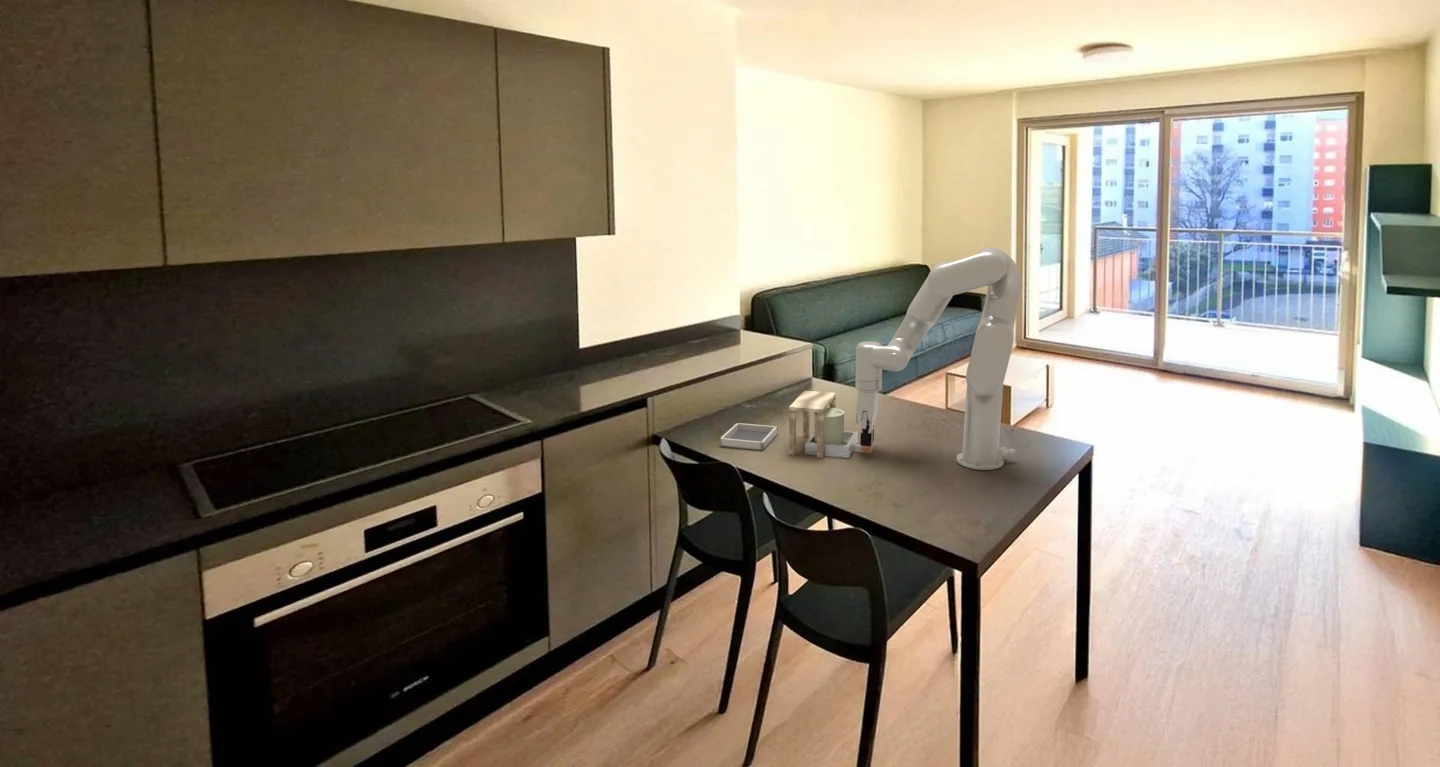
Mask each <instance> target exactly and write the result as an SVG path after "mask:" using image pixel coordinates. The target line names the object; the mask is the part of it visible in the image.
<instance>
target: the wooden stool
mask: <svg viewBox="0 0 1440 767" xmlns="http://www.w3.org/2000/svg"><path fill="white" fill-rule="evenodd" d="M836 404H837V393H836V392H831V391H830V392H828V391H815V390H803V392H802V393H801V394H800V395H799V396H797V398H796V399H795V400H794V401H793V402H792V403H791V404H790V405H789V407H788V419H789V420H788V421H789V422H788V424H789V425H788V427H789V428H788V429H789V430H788V432H789V433H788V434H789V435H788V436H789V440H788V442H789V443H788V444H789V445H788V446H789V456H796V455H797V411H798V412H802V425H803V426H802V433H803V434H802V435H803V436H802V438H804V439H805V438H807V439H809V438H810V413H814V412H817V455H816V458H817V459H824V457H825V456H824V410H825V409H826V408H837V405H836ZM828 406H829V407H828Z"/></svg>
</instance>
